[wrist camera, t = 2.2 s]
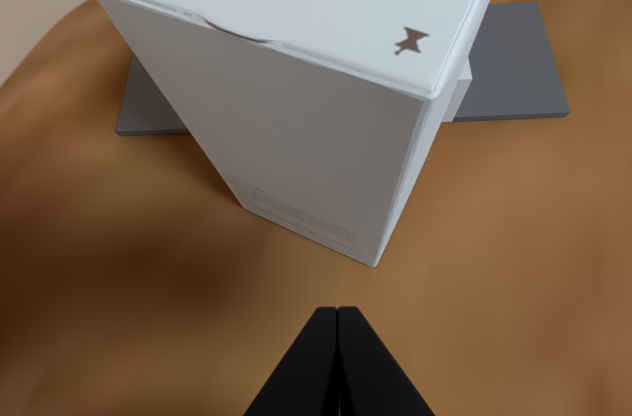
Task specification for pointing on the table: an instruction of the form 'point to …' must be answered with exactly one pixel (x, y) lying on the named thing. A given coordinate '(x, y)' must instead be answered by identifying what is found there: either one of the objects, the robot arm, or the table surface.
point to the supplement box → (309, 100)
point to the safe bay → (469, 94)
